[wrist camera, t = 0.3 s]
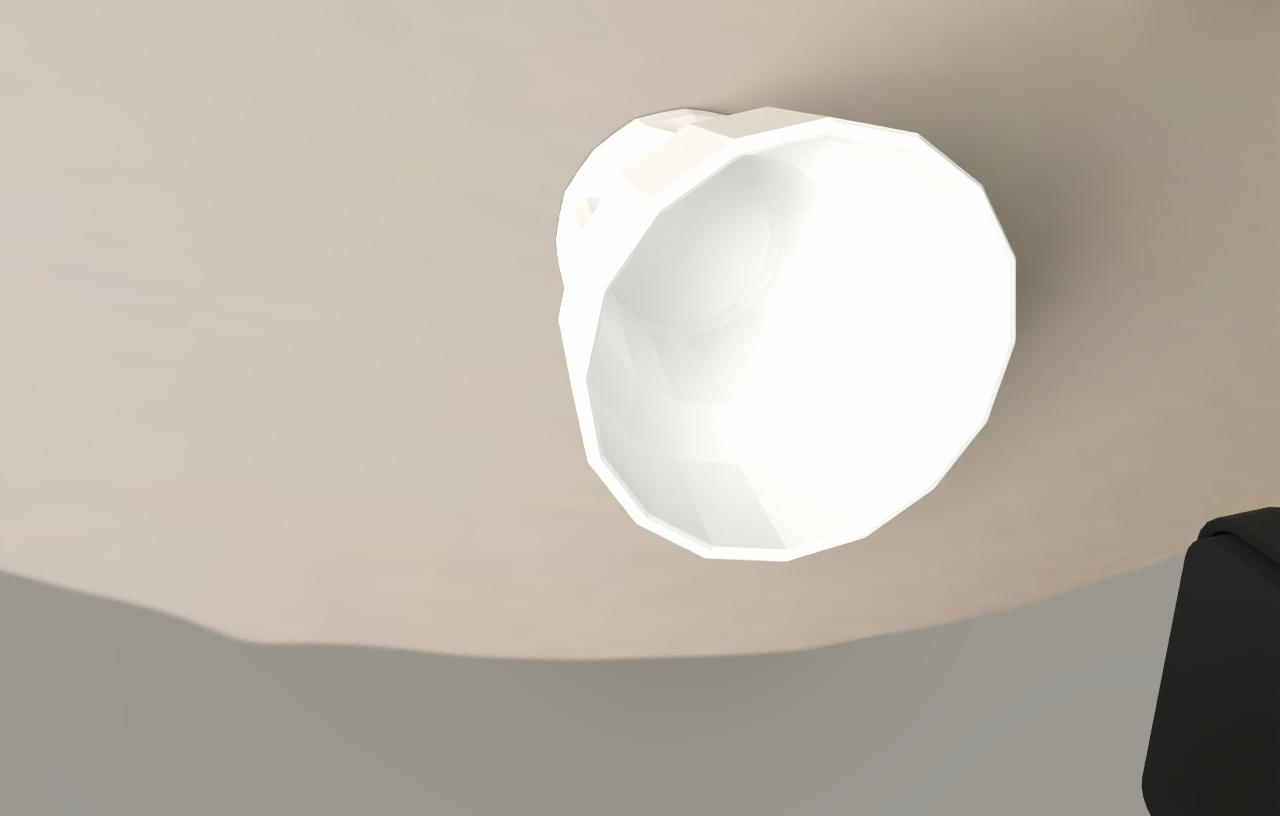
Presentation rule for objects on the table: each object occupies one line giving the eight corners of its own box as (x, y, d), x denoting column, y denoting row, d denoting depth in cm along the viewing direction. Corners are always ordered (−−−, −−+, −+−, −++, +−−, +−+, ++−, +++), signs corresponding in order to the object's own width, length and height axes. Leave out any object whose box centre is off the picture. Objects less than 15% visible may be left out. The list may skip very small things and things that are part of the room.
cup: (827, 386, 45) (983, 538, 35) (497, 416, 42) (570, 593, 32) (866, 42, 40) (1061, 112, 30) (491, 45, 36) (576, 125, 27)
